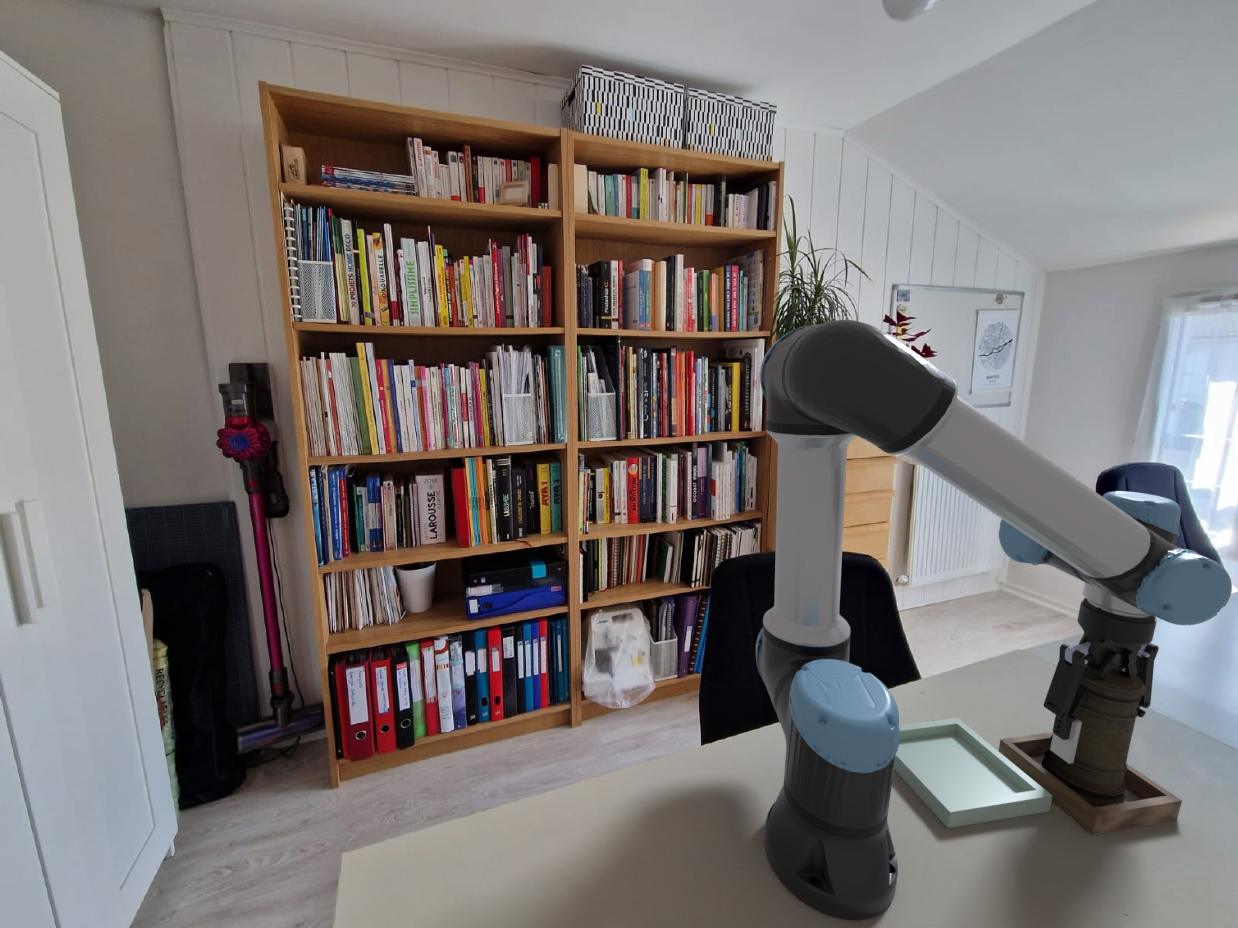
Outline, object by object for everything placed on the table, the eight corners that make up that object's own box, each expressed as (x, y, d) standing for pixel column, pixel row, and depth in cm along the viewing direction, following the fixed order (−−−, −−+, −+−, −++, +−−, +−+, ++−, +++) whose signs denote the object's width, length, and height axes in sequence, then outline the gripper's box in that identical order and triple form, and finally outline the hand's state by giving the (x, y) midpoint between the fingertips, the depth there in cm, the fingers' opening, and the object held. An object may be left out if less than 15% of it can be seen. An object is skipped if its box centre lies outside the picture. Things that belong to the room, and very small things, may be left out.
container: (1141, 811, 71) (1170, 693, 68) (1074, 809, 71) (1100, 692, 68) (1084, 761, 80) (1107, 655, 77) (1025, 760, 80) (1046, 654, 77)
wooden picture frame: (1091, 834, 68) (1096, 815, 67) (997, 756, 81) (1000, 739, 81) (1177, 819, 70) (1182, 800, 70) (1071, 745, 84) (1075, 729, 83)
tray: (947, 828, 68) (950, 812, 68) (869, 742, 84) (871, 728, 83) (1049, 811, 71) (1052, 795, 71) (955, 731, 87) (957, 717, 86)
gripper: (1084, 625, 65) (1051, 782, 69) (1214, 613, 69) (1175, 763, 73) (1027, 598, 72) (1001, 742, 77) (1148, 589, 76) (1116, 727, 80)
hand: (1086, 752), depth 75 cm, fingers closed on container, 8 cm apart
